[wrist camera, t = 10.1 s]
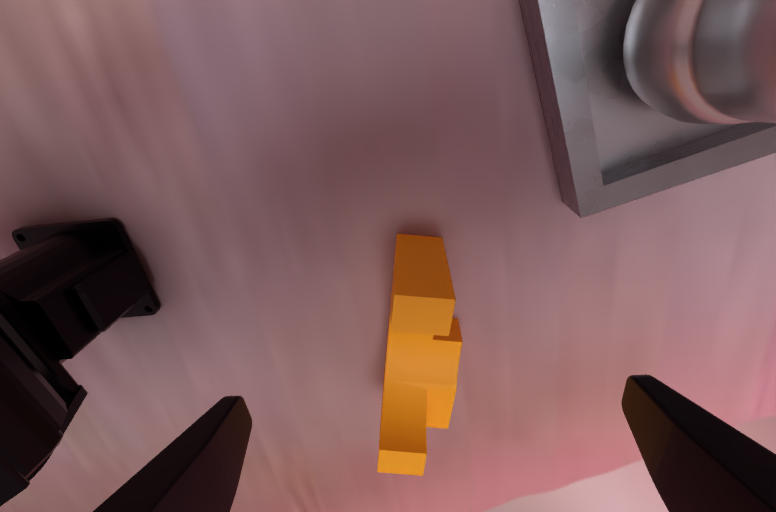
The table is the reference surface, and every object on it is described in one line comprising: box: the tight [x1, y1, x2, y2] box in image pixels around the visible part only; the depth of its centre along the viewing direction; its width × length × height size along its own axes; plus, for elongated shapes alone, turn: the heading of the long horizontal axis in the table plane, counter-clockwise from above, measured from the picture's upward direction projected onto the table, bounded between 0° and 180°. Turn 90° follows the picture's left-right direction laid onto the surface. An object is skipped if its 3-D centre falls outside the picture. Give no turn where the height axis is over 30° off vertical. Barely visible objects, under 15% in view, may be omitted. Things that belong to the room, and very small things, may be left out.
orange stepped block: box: [377, 234, 463, 476], centre depth 21 cm, size 12×4×6 cm, turn 176°
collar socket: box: [519, 0, 776, 218], centre depth 15 cm, size 12×12×2 cm
